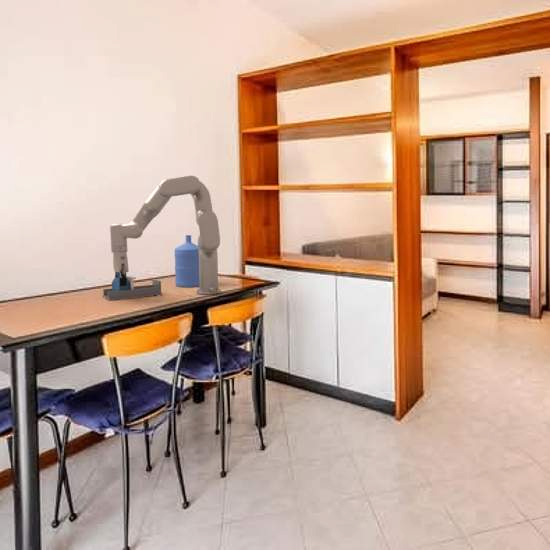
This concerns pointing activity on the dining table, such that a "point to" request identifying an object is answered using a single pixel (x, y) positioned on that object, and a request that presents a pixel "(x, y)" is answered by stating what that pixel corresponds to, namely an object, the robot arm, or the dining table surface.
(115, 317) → the dining table surface
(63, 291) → the dining table surface
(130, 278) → the pusher
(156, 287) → the tray
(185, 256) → the water jug
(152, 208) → the robot arm
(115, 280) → the perfume bottle
